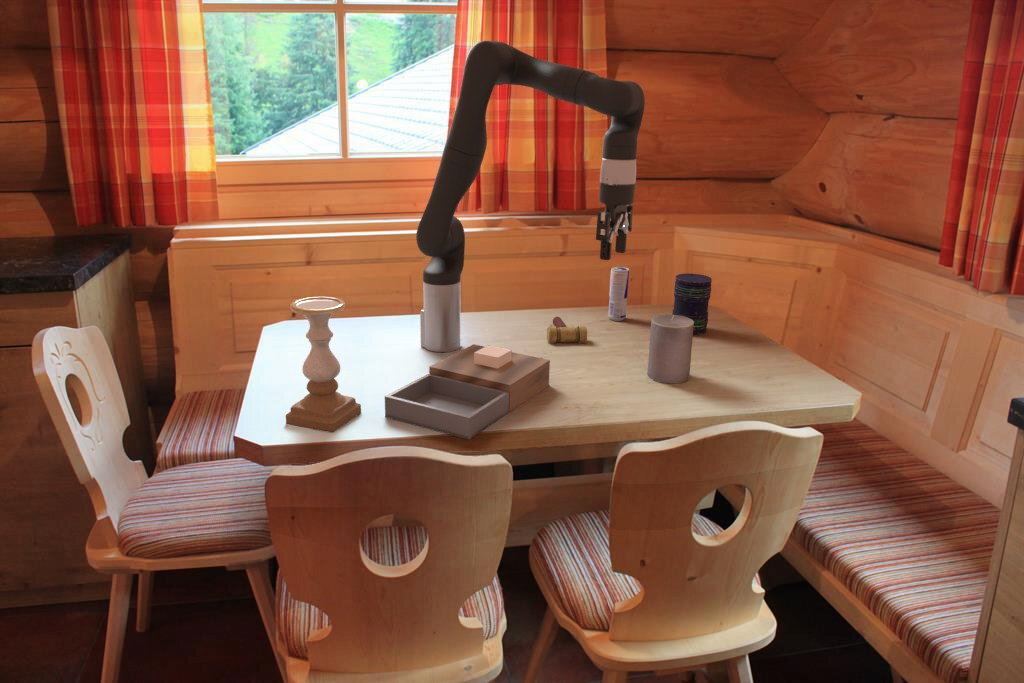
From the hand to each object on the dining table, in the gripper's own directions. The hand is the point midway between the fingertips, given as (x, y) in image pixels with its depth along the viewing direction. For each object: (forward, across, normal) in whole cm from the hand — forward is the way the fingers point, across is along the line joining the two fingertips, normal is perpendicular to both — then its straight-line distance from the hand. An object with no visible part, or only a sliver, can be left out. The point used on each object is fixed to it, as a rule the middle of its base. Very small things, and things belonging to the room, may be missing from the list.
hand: (612, 256), depth 174 cm
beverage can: (+29, -48, -17) cm, 59 cm away
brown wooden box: (+29, +18, -20) cm, 40 cm away
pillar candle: (+29, -11, +11) cm, 33 cm away
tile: (+23, +17, -20) cm, 35 cm away
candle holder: (+30, +49, -40) cm, 70 cm away
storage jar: (+29, -49, +4) cm, 57 cm away
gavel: (+30, -28, -25) cm, 48 cm away
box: (+29, +35, -20) cm, 50 cm away
